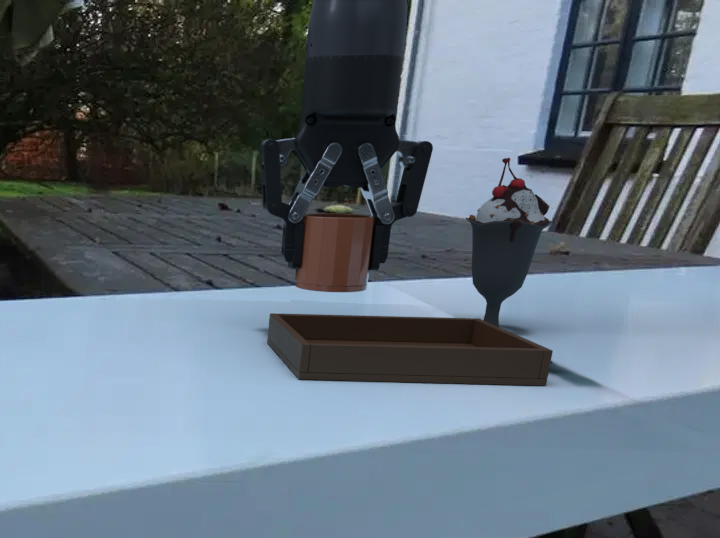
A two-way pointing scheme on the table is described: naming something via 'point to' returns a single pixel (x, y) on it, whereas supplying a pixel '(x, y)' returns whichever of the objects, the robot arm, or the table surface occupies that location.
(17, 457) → the table surface
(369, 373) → the tray
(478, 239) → the sundae
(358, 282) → the terracotta flower pot
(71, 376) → the table surface
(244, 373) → the table surface
